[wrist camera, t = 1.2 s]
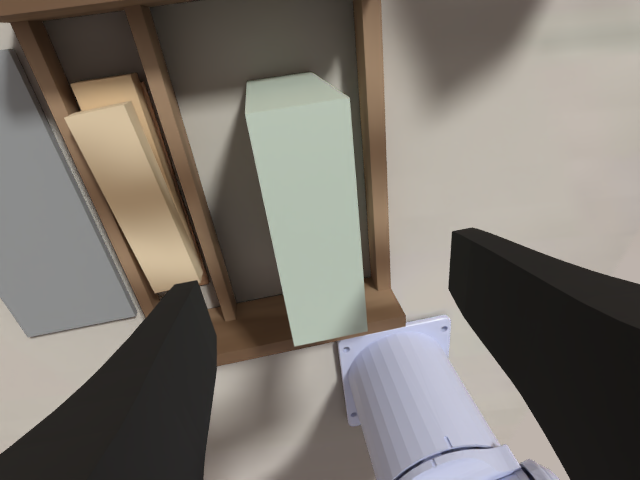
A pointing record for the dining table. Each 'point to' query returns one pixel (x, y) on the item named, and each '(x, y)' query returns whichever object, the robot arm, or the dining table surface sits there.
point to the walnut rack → (231, 318)
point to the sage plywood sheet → (310, 201)
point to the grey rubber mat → (47, 225)
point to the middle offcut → (130, 90)
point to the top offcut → (136, 192)
